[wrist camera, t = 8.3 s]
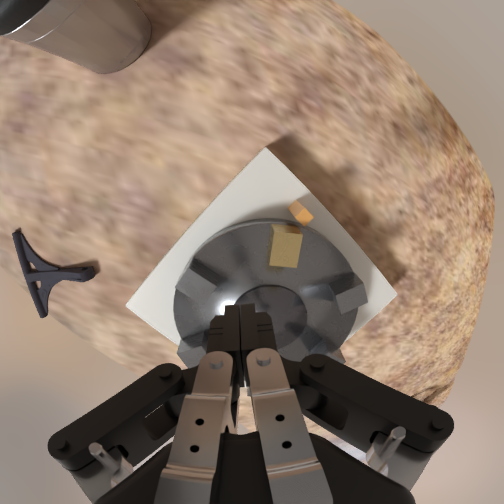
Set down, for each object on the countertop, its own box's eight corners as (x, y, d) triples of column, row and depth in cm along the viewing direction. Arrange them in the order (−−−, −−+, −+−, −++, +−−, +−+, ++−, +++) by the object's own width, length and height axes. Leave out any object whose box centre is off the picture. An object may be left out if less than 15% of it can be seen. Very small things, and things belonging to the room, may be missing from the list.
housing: (133, 294, 33) (113, 324, 26) (263, 147, 27) (269, 145, 21) (263, 384, 39) (267, 419, 33) (387, 284, 34) (412, 310, 27)
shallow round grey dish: (179, 208, 26) (166, 220, 21) (369, 230, 28) (391, 245, 23) (180, 361, 33) (173, 388, 28) (326, 369, 35) (335, 395, 30)
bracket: (111, 314, 35) (104, 325, 32) (43, 313, 35) (35, 321, 32) (84, 216, 30) (73, 222, 27) (17, 230, 30) (6, 236, 27)
